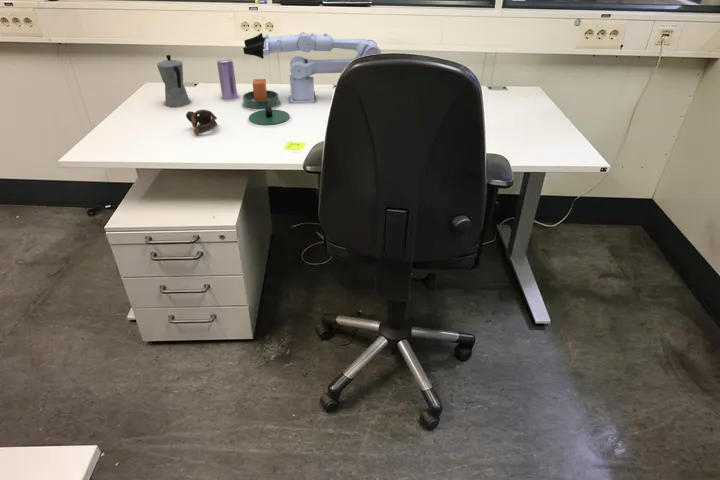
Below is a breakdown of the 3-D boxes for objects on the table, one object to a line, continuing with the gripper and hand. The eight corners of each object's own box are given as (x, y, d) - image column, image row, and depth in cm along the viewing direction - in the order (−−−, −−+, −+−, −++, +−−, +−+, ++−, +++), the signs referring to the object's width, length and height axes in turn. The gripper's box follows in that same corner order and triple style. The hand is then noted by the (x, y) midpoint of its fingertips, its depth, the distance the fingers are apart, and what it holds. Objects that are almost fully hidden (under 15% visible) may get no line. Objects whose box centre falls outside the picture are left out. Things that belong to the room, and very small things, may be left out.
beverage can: (235, 101, 196) (230, 61, 188) (220, 100, 197) (214, 61, 188) (239, 96, 201) (234, 57, 193) (224, 95, 201) (218, 57, 193)
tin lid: (290, 111, 187) (289, 99, 184) (289, 126, 175) (288, 112, 172) (251, 112, 186) (249, 99, 183) (247, 127, 174) (245, 113, 171)
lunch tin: (279, 98, 199) (278, 89, 197) (278, 110, 188) (277, 101, 186) (245, 99, 198) (244, 90, 196) (242, 111, 187) (241, 101, 185)
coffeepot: (160, 100, 196) (149, 53, 186) (183, 96, 201) (174, 49, 191) (173, 111, 186) (163, 62, 176) (197, 107, 191) (189, 58, 180)
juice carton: (267, 100, 196) (265, 78, 191) (266, 105, 191) (264, 83, 186) (256, 100, 195) (253, 79, 190) (255, 105, 191) (252, 83, 186)
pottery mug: (225, 127, 175) (221, 112, 168) (211, 147, 171) (207, 132, 164) (194, 115, 176) (189, 99, 169) (180, 134, 172) (174, 119, 165)
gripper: (279, 26, 189) (243, 29, 188) (279, 40, 178) (241, 43, 177) (281, 45, 194) (246, 48, 193) (282, 59, 183) (244, 62, 182)
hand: (244, 47), depth 185 cm, fingers open, 7 cm apart
